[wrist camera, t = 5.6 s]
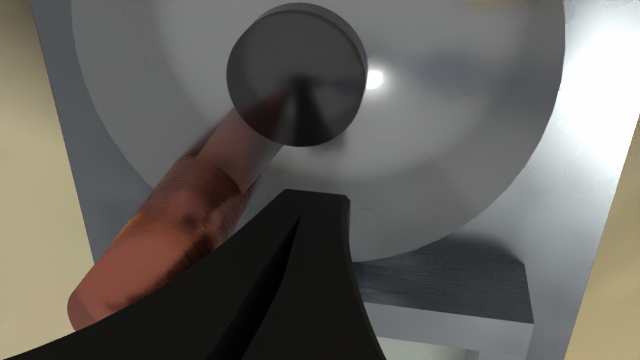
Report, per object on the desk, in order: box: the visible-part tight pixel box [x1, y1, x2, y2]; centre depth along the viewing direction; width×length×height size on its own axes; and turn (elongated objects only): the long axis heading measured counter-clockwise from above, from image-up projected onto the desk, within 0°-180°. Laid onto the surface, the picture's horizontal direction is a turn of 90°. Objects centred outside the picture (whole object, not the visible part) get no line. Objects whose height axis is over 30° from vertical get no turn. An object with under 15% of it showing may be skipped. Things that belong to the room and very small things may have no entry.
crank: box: [67, 0, 566, 331], centre depth 10 cm, size 9×9×6 cm
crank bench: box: [30, 0, 640, 360], centre depth 14 cm, size 13×22×4 cm, turn 0°
